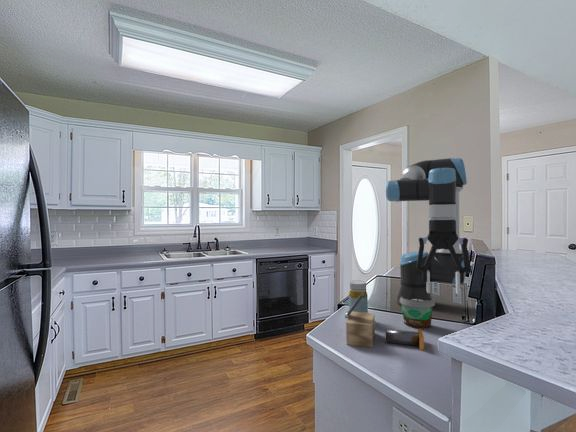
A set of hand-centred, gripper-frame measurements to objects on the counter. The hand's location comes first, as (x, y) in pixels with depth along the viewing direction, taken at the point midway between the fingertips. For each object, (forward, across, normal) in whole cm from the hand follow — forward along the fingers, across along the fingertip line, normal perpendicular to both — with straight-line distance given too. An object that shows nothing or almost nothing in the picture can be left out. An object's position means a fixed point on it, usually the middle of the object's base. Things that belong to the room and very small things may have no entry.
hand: (442, 292), depth 98 cm
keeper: (+6, +26, 0) cm, 27 cm away
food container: (+17, +6, -17) cm, 25 cm away
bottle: (+17, +28, -17) cm, 37 cm away
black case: (+17, +12, 0) cm, 21 cm away
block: (+17, +25, 0) cm, 30 cm away
